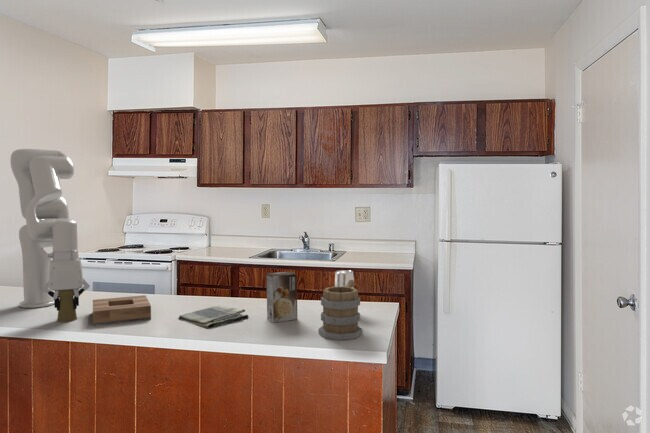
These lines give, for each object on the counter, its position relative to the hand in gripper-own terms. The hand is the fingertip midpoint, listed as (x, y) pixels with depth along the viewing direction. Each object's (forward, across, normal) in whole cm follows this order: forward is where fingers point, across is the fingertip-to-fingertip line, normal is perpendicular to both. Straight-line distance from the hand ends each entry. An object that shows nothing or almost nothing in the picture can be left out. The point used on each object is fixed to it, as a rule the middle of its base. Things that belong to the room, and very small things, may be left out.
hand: (66, 308), depth 164 cm
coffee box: (+4, +67, -31) cm, 74 cm away
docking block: (+4, +17, -3) cm, 18 cm away
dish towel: (+5, +46, -20) cm, 50 cm away
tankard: (+4, +80, -52) cm, 96 cm away
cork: (+4, 0, 0) cm, 4 cm away
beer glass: (+4, +91, -32) cm, 97 cm away
